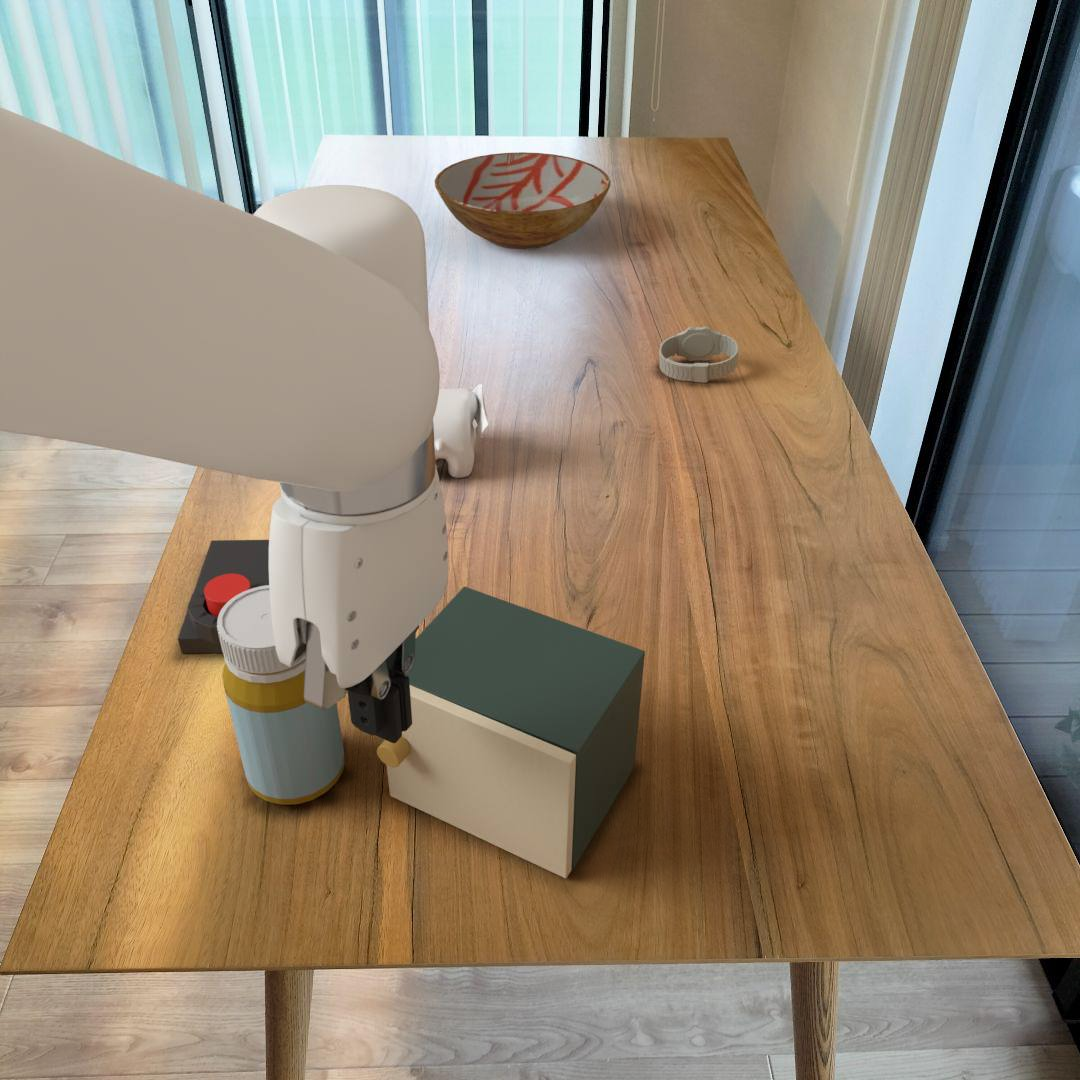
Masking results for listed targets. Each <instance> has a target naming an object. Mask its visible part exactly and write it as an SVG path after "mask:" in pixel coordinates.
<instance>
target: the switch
mask: <svg viewBox="0 0 1080 1080" xmlns="http://www.w3.org/2000/svg"><path fill="white" fill-rule="evenodd" d="M224 574H239V575H242V576H244V577H246V578H247V579H248V580H249V582H250V586H251V589H252V588H256V587H260V586H266V585H269V539H226V540H225V539H223V540H222V539H220V540H215V539H213V540H211V541H210V543H209V546H208V550H207V552H206V555H205V558H204V561H203V564H202V567H201V569H200V572H199V576H198V579H197V581H196V584H195V588H194V590H193V593H192V594H191V596H190V600H189V602H188V605H187V610H186V613H185V616H184V619H183V622H182V625H181V627H180V631H179V634H178V636H177V641H178V645H179V648H180V653H181V654H182V655H183V654H223V651H222V647H221V643H220V639H219V634H218V630H217V620H218V617H216V616H213V615H212V614H211V613H210V612H209V610H208V606H207V602H206V598H205V594H204V589H205V586H206V585H207V584H208V582H209V581H211V580H212V579H214V578H216V577H218V576H221V575H224Z"/></svg>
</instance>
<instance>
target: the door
mask: <svg viewBox="0 0 1080 1080" xmlns="http://www.w3.org/2000/svg"><path fill="white" fill-rule="evenodd" d="M410 697H411V711H412V725H411V726H410V727H409V729H408V730H407V731H403V732H402V736H401V738H400V739H399V740H398V741H397V742H396V743H391V742H389V741H387V740H384V739H382V740H383V741H382V742H381V744H379V746H378V747H377V749H376V754H377V756H378V758H379V760H380V761H381V762H382V763H383V764H385V765H386V774H387V782H388V789H389V796H390V797H391V798H394V799H396V800H398V801H400V802H402V803H404V804H407V805H409V806H410V807H413V808H414V809H417V810H419V811H422V812H423V813H425V814H427V815H430V816H432V817H434V818H436V819H438V820H440V821H442V822H445V823H447V824H449V825H451V826H453V827H455V828H457V829H460V830H461V831H463V832H466V833H468V834H470V835H473V836H474V837H477V838H478V839H481V840H482V841H485V842H487V843H489V844H491V845H493V846H496V847H498V848H500V849H502V850H504V851H507V852H508V853H510V854H512V855H515V856H517V857H518V858H521V859H523V860H524V861H527V862H529V863H532V864H533V865H535V866H537V867H540V868H541V869H544V870H546V871H548V872H550V873H552V874H555V875H556V876H559V877H561V878H563V879H566V880H567V879H568V876H569V875H570V873H571V872H572V869H571V867H572V842H573V818H574V794H575V770H576V755H575V754H573V753H571V752H568V751H566V750H564V749H561V748H559V747H556V746H554V745H552V744H549V743H547V742H544V741H542V740H540V739H537V738H535V737H533V736H530V735H528V734H525V733H523V732H521V731H518V730H516V729H514V728H511V727H509V726H506V725H504V724H502V723H499V722H497V721H495V720H492V719H490V718H487V717H485V716H483V715H480V714H478V713H476V712H473V711H471V710H468V709H466V708H464V707H461V706H459V705H457V704H454V703H452V702H449V701H447V700H445V699H442V698H440V697H438V696H435V695H433V694H430V693H428V692H426V691H423V690H421V689H419V688H416V687H414V686H411V685H410Z"/></svg>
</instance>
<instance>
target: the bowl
mask: <svg viewBox="0 0 1080 1080" xmlns="http://www.w3.org/2000/svg"><path fill="white" fill-rule="evenodd" d="M434 187H435V189H436V191H437V193H438V195H439V197H440V198H441V199H442V202H443V204H444V206H445V207H446V208H447V209H448V211H449V212H450V213H451V214H452V215H453V217H454V218H455V219H456V221H458V223H460V224H461V225H462V226H463V227H465V228H466V229H467V230H468V231H469V232H471V233H472V234H475V235H476V236H478V237H480V238H482V239H484V240H486V241H488V242H490V243H491V244H494V245H496V246H499V247H502V248H508V249H517V250H530V249H537V248H542V247H546V246H550V245H552V244H554V243H556V242H558V241H560V240H562V239H564V238H565V237H568V236H569V235H571V234H573V233H575V232H576V231H578V230H579V229H580V228H581V227H582V226H584V224H585V223H587V222H588V221H589V220H590V219H591V218H592V216H593V215H594V214H595V213H596V212H597V210H598V209H599V207H600V206H601V204H602V202H603V201H604V199H605V198H606V196H607V194H608V192H609V190H610V188H611V179H610V176H609V175H608V174H607V173H606V172H605V171H604V170H603V169H601V168H599V167H598V166H597V165H594V164H592V163H590V162H587V161H584V160H580V159H577V158H574V157H570V156H564V155H558V154H552V153H542V152H521V151H520V152H519V151H518V152H501V153H491V154H485V155H479V156H473V157H471V158H466V159H464V160H460V161H457V162H455V163H452V164H450V165H448V166H446V167H445V168H443V169H442V170H441V171H440V172H438V173H437V175H436V176H435V179H434Z"/></svg>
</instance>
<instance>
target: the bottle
mask: <svg viewBox="0 0 1080 1080" xmlns="http://www.w3.org/2000/svg"><path fill="white" fill-rule="evenodd" d="M217 630H218V634H219V639H220V643H221V647H222V651H223V653H222V654H223V659H224V666H223V670H222V674H221V675H222V676H221V677H222V678H221V679H222V683H223V688H224V692H225V696H226V697H225V698H226V700H227V705H228V710H229V713H230V717H231V722H232V725H233V729H234V734H235V738H236V741H237V746H238V751H239V755H240V758H241V759H240V760H241V763H242V766H243V771H244V775H245V779H246V782H247V785H248V787H249V788H250V790H251V791H252V793H254V794H255V796H257V797H258V798H261V800H264V801H265V802H268V803H273V804H277V805H283V806H289V805H291V806H292V805H301V804H304V803H308V802H311V801H313V800H315V799H317V798H319V797H320V796H322V795H324V794H325V793H327V792H328V791H330V789H331V788H332V787H334V785H335V784H336V783H337V782H338V781H339V779H340V777H341V775H342V773H343V771H344V769H345V760H346V759H345V750H344V743H343V735H342V730H341V723H340V717H339V716H340V715H339V710H338V709H339V708H338V704H337V703H338V702H337V703H335V704H334V705H333V706H331V707H330V708H328V709H326V710H324V709H322V708H319V707H317V706H315V705H313V704H310V703H308V702H306V701H305V700H304V682H305V663H306V654H305V655H304V656H303V657H302V658H301V659H300V660H299V661H298V662H297V663H296V664H295V665H294V666H293V667H289V666H287V665H285V664H283V663H281V662H280V661H279V658H278V655H277V651H276V646H275V640H274V633H273V625H272V615H271V605H270V591H269V585H266V586H260V587H256V588H252V589H249V590H246V591H244V592H242V593H240V594H238V595H236V596H235V597H233V598H232V599H231V600H229V601H228V602H227V603H226V604H225V605H224V607H223V608H222V609H221V611H220V613H219V616H218V620H217Z"/></svg>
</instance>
